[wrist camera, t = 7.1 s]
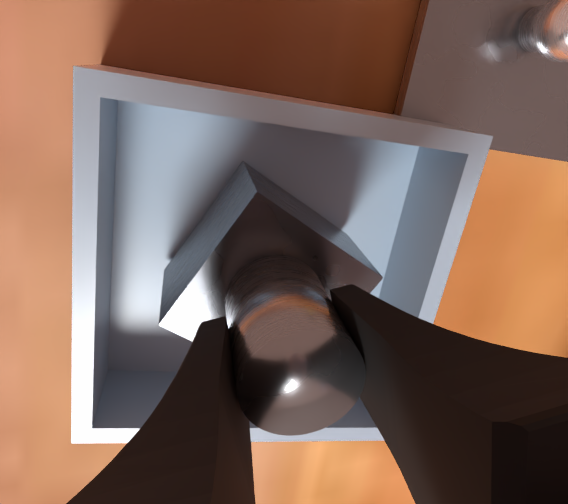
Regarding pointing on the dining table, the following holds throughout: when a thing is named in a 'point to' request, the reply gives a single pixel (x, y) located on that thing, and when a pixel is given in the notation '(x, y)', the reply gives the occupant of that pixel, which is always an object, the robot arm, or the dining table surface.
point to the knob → (272, 302)
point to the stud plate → (492, 72)
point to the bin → (201, 193)
